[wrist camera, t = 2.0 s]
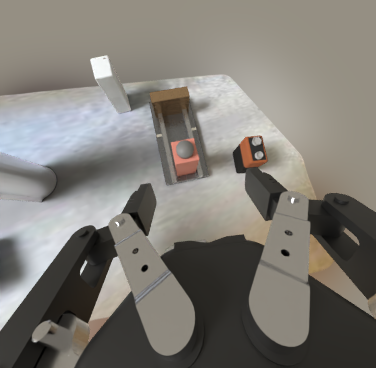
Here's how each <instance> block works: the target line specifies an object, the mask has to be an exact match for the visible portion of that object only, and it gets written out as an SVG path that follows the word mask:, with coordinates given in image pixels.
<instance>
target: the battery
mask: <svg viewBox="0 0 376 368" xmlns="http://www.w3.org/2000/svg"><path fill="white" fill-rule="evenodd" d="M233 157H234V162H235V167H236V172H237V173H245V172H246V169H249V168H256V167H257V168H258V167H259V166H261V165H263V164H264V163H266V162H267V161H268V160H267V155H266V151H265V147H264V143H263V138H262V136H251V137H245V138H244V140H243V141H242V142H241V143H240V144H239V146H238V147H237V148H236V149H235V150H234V152H233Z"/></svg>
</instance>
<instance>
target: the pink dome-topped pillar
mask: <svg viewBox="0 0 376 368" xmlns="http://www.w3.org/2000/svg"><path fill="white" fill-rule="evenodd" d="M171 146H172V152H173V158H174V162H175V167H176V171H177V176H182V175H186V174H191V173H195V172H196V169H197V165H198V162H199V156H198V153H197V149H196V145H195V141H194V138H191V139H186V140H181V141H176V142H171Z"/></svg>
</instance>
